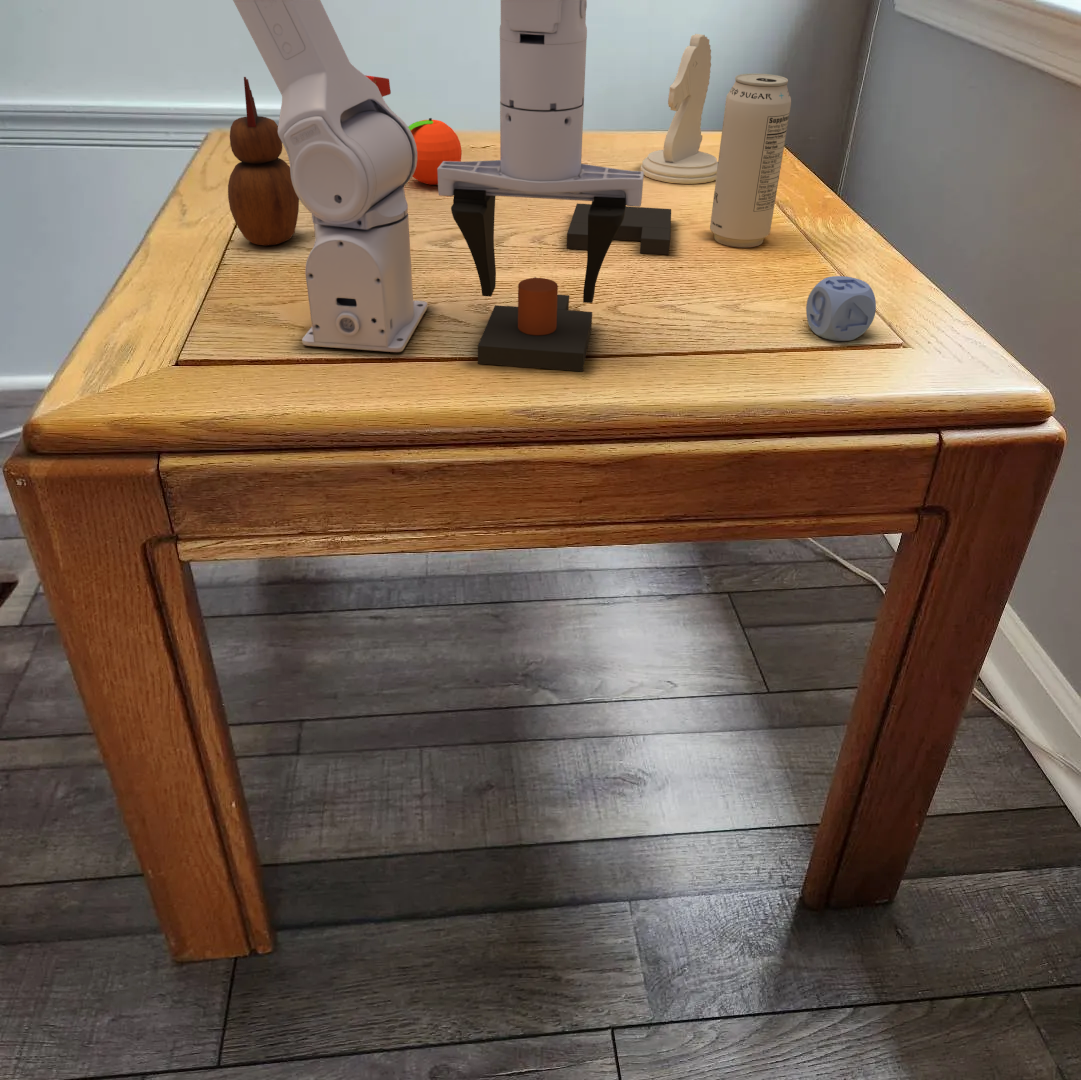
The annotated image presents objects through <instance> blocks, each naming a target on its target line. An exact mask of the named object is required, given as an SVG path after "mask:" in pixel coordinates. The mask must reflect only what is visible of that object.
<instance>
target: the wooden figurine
mask: <svg viewBox="0 0 1081 1080" xmlns="http://www.w3.org/2000/svg"><path fill="white" fill-rule="evenodd" d="M243 86H244V99H245V111H246V116H241V117H239V118H236V119H234V121H232V124H231V125H230V131H229V144H230V149H231V152H232V154H233V156H234V157H235V158H236V159H237V160H238V161H239V162H238V163H237V164H235V166H234V168H233V169H232V171H231V173H230V175H229V179H228V184H227V199H228V206H229V210H230V213H231V215H232V217H233V220H234V222H235V224H236V226H237V228H238V230H239V232H240V233H241V234H242V237H243V238H245V240H247V241H248V242H250V243H252V244H254V245H258V246H259V245H260V246H265V247H267V246H275V245H280V244H282V243H285V242H287V241H289V240H290V239H292V236H293V235H294V234H295V231H296V227H297V225H298V224H297V223H298V216H299V211H300V210H299V209H300V207H299V206H300V200H299V198H298V196H297V194H296V192H295V190H294V187H293V184H292V180H291V173H290V165H289V164H288V163H287V162H286V161H285V160H283V159H282V158H280V156H281V154H282V153H283V143H282V141H281V139H280V137H279V135H278V123H276V121H275V120H274V119H272V118H269V117H267V116H261V115H258V112H257V111H258V110H257V106H256V102H255V98H254V96H253V93H252V89H251V87H250V82H249V79H248V78H247V76H243Z"/></svg>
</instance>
